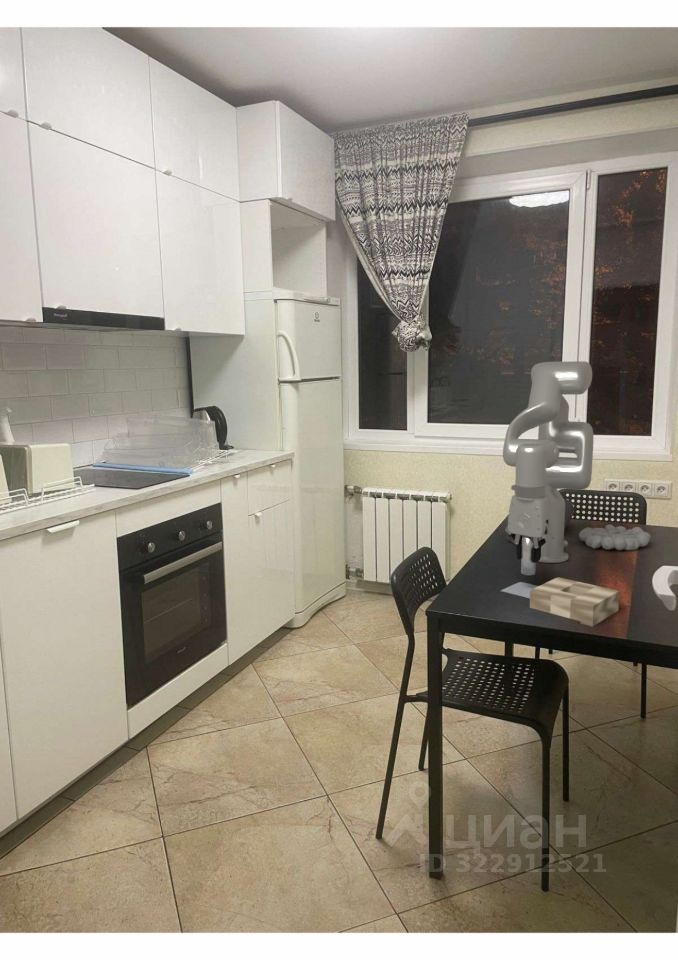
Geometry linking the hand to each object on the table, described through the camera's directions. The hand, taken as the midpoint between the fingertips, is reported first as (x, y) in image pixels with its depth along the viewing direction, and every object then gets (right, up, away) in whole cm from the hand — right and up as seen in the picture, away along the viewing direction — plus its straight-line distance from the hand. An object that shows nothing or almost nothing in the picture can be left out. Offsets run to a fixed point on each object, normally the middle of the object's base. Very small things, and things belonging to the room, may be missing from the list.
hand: (528, 559), depth 177 cm
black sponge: (+16, -1, +52) cm, 54 cm away
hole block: (+8, -11, -12) cm, 18 cm away
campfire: (+41, -1, +45) cm, 61 cm away
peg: (0, -4, +1) cm, 4 cm away
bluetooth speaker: (+30, +3, +68) cm, 74 cm away
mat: (0, -9, +1) cm, 9 cm away
